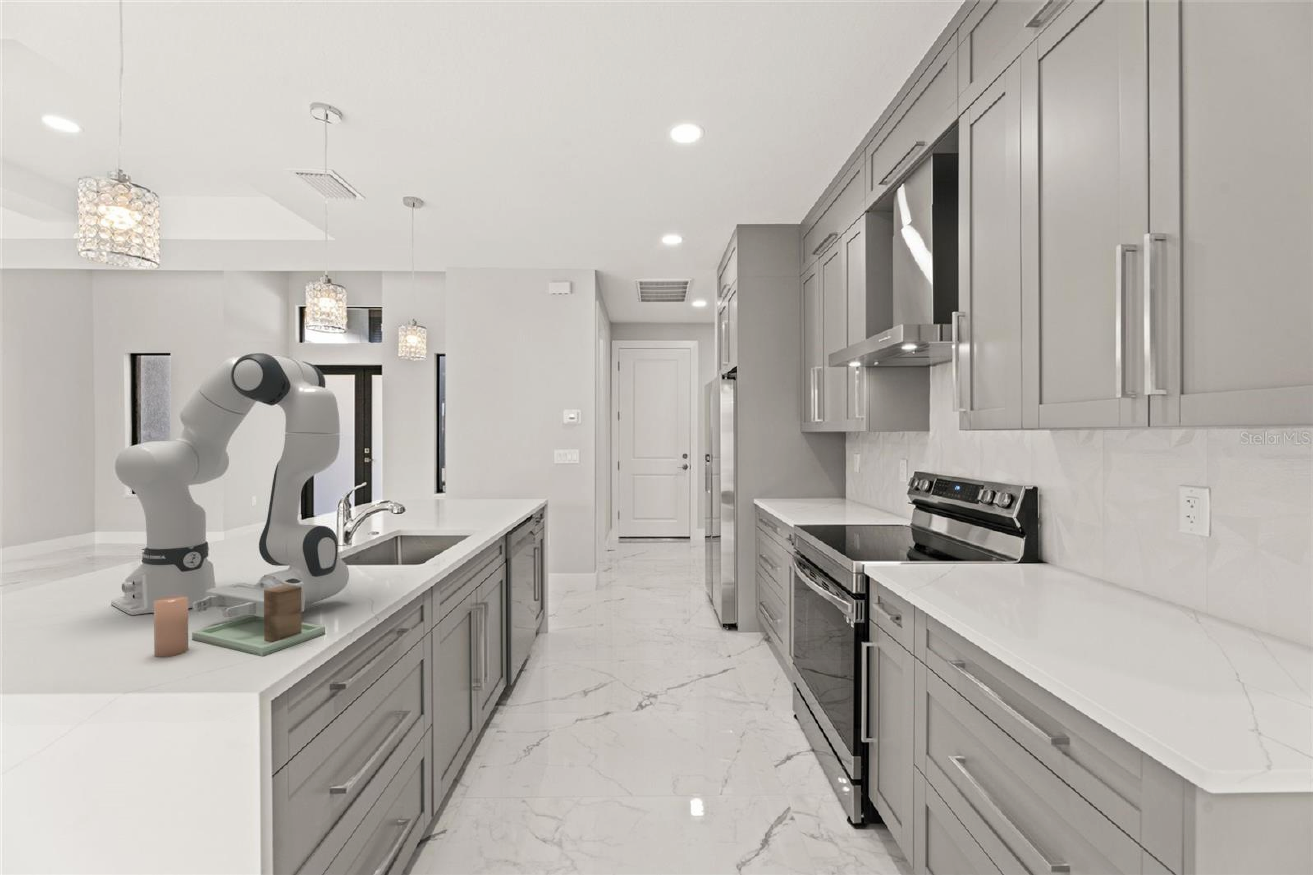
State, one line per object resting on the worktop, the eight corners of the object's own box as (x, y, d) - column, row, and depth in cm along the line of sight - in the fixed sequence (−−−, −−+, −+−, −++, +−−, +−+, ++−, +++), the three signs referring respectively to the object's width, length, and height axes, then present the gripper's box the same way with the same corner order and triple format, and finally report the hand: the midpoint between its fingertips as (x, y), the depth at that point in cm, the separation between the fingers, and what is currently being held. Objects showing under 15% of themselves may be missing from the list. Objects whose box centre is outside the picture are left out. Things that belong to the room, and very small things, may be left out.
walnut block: (264, 640, 118) (263, 590, 118) (286, 633, 122) (285, 584, 122) (279, 644, 116) (279, 592, 116) (301, 636, 120) (301, 586, 120)
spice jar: (148, 654, 112) (147, 601, 112) (178, 645, 117) (177, 594, 117) (164, 658, 110) (163, 604, 110) (194, 649, 115) (193, 597, 115)
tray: (192, 639, 120) (192, 632, 120) (257, 620, 132) (257, 613, 132) (262, 656, 112) (262, 648, 112) (325, 633, 124) (325, 626, 124)
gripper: (245, 573, 136) (177, 588, 124) (309, 583, 129) (242, 600, 116) (246, 601, 137) (177, 619, 124) (309, 612, 129) (243, 633, 116)
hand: (209, 610), depth 120 cm, fingers open, 8 cm apart
